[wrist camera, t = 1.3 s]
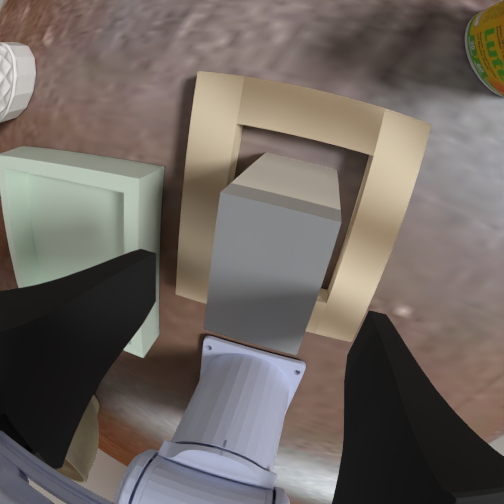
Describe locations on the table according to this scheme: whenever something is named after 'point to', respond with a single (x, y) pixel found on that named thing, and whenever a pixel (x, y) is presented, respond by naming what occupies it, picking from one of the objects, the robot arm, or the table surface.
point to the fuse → (272, 251)
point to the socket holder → (313, 127)
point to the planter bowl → (83, 445)
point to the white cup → (15, 79)
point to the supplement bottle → (487, 47)
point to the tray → (80, 217)
